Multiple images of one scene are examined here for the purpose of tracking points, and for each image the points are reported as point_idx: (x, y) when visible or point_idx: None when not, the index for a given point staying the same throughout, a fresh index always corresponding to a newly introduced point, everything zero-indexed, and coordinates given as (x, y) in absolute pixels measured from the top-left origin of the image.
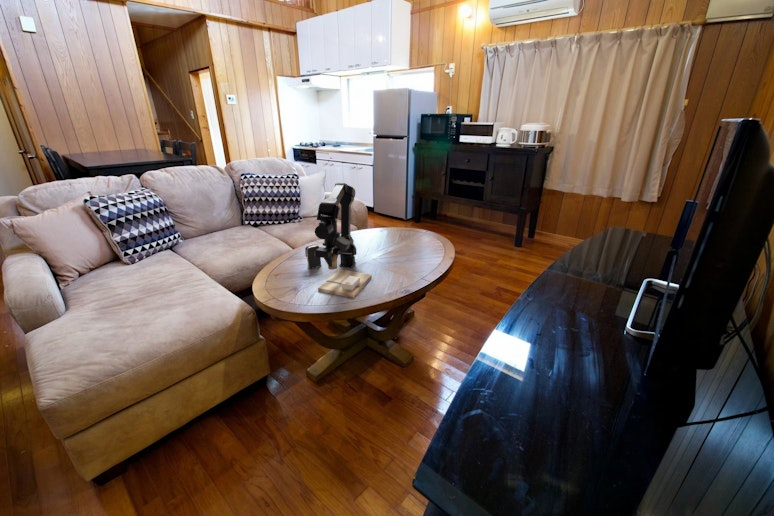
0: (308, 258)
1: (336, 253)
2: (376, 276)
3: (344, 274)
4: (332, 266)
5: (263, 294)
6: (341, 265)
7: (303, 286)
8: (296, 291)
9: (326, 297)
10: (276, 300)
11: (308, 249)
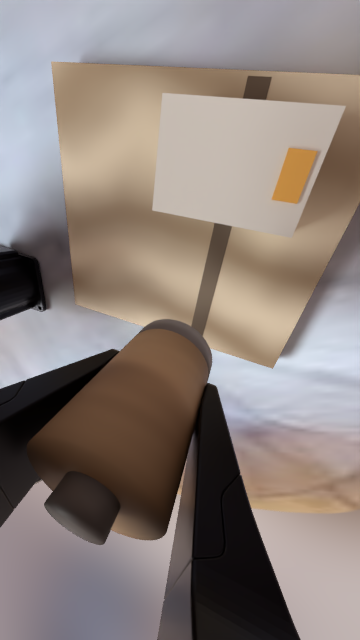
0: None
1: (8, 432)
2: (43, 38)
3: (110, 267)
4: (204, 373)
5: (296, 505)
6: (40, 302)
7: (231, 411)
8: (275, 430)
9: (354, 309)
10: (351, 483)
11: (38, 479)
